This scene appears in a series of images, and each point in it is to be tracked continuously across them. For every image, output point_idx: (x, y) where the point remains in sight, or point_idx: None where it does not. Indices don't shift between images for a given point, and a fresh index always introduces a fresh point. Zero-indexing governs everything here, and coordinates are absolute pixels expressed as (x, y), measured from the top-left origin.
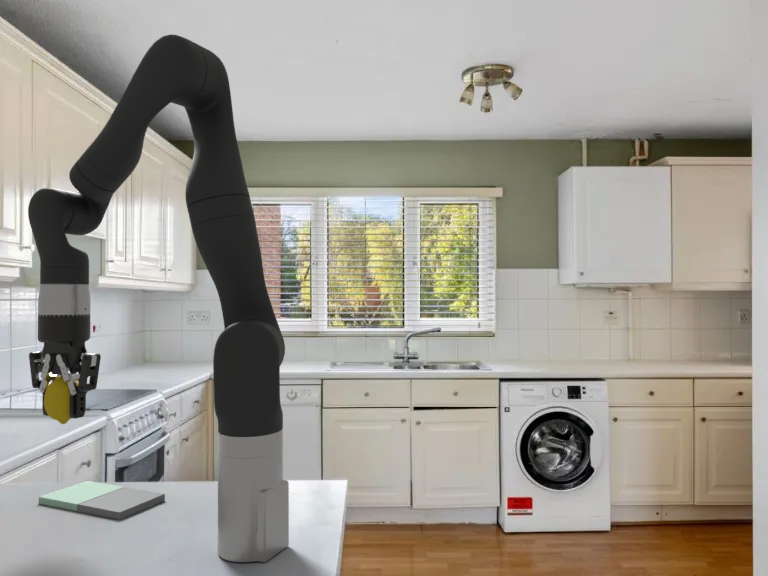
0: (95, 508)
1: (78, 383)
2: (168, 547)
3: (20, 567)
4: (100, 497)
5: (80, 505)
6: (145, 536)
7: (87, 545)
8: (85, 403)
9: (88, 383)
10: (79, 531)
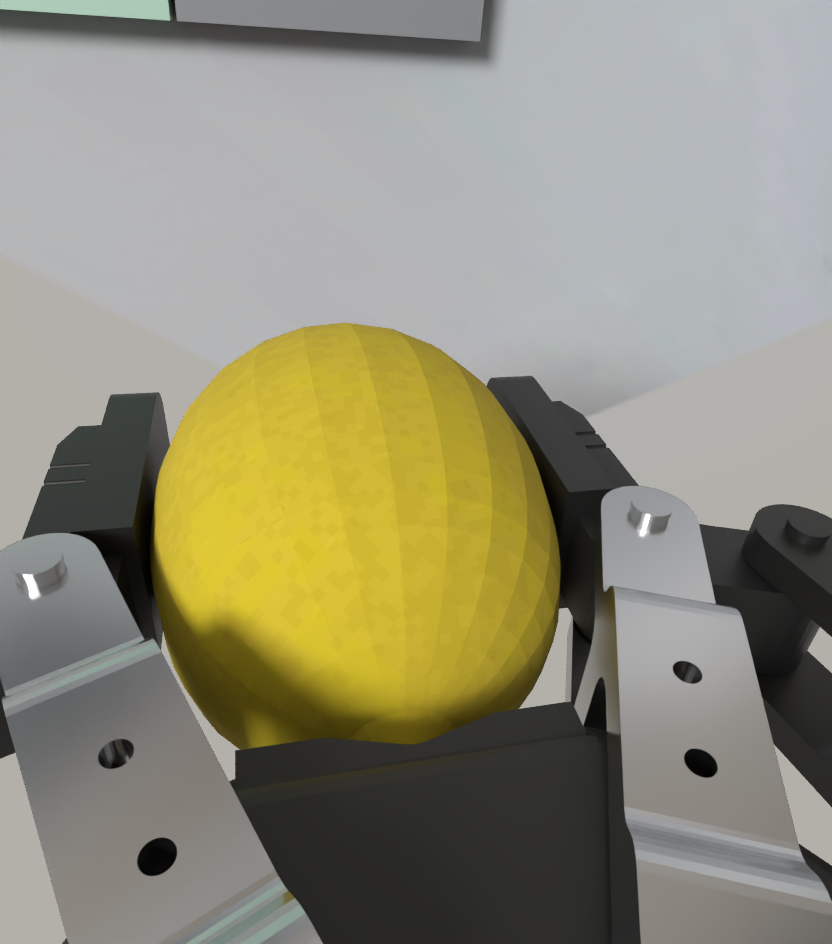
0: (312, 29)
1: (523, 556)
2: (795, 197)
3: None
4: None
5: (198, 22)
6: (678, 151)
7: (530, 291)
8: (610, 452)
9: (814, 632)
10: (406, 213)
